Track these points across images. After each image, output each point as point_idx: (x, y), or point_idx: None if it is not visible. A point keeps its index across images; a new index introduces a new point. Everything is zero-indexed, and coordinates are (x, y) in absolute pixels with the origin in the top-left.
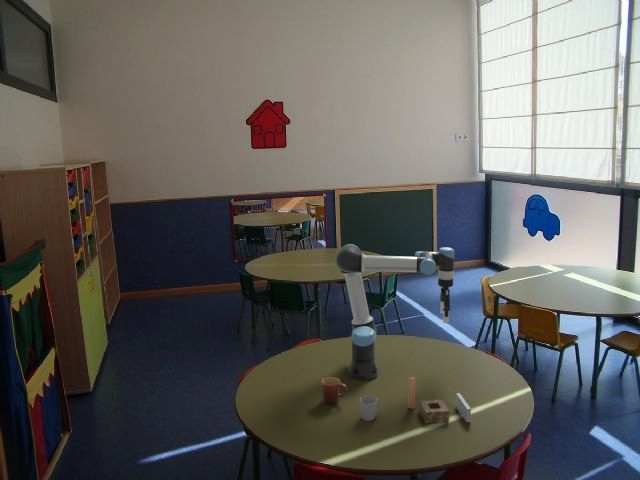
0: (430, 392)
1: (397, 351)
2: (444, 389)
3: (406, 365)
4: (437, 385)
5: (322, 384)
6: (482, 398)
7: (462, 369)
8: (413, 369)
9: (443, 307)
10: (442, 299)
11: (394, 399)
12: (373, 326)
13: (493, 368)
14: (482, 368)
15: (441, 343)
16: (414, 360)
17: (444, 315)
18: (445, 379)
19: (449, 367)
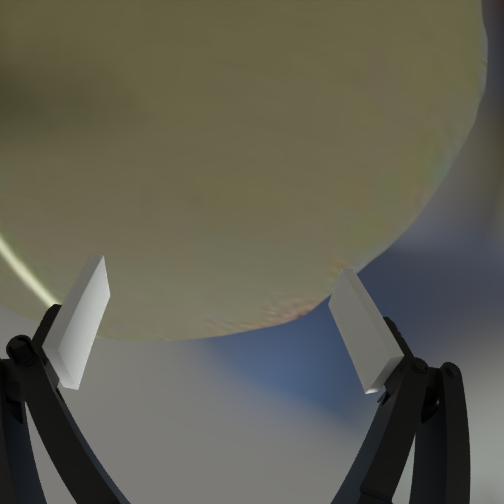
0: (26, 104)
1: (372, 33)
2: (44, 146)
3: (235, 27)
4: (65, 125)
5: None
6: (21, 240)
7: (189, 224)
8: (194, 47)
9: (354, 333)
10: (392, 396)
11: (3, 14)
12: None
13: (199, 309)
14: (198, 283)
15: (408, 206)
16: (282, 65)
17: (67, 309)
18: (107, 155)
19: (206, 184)
